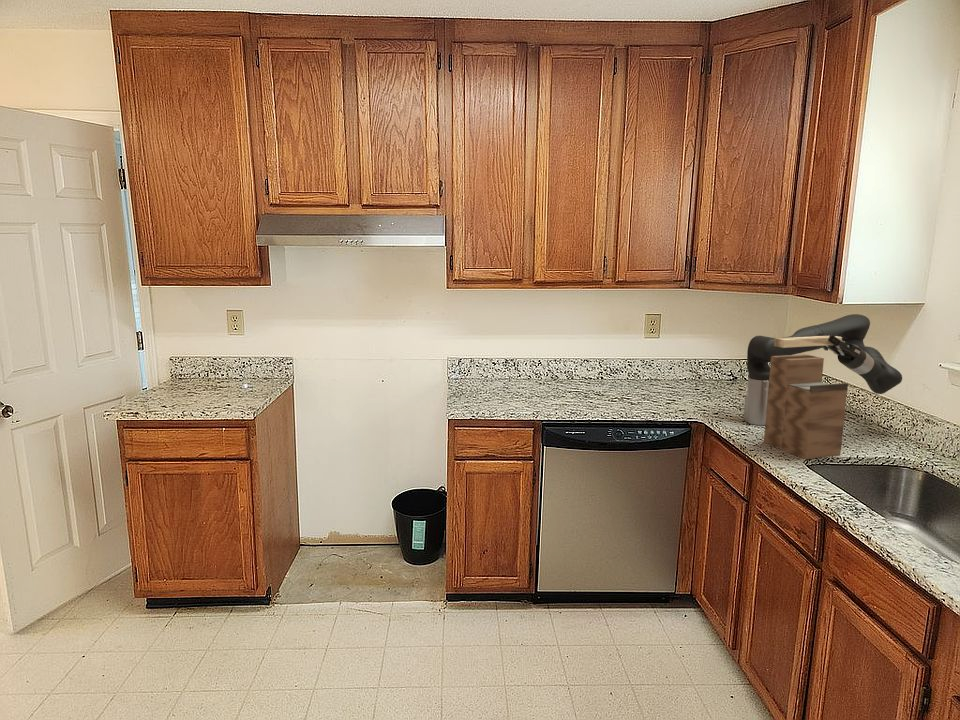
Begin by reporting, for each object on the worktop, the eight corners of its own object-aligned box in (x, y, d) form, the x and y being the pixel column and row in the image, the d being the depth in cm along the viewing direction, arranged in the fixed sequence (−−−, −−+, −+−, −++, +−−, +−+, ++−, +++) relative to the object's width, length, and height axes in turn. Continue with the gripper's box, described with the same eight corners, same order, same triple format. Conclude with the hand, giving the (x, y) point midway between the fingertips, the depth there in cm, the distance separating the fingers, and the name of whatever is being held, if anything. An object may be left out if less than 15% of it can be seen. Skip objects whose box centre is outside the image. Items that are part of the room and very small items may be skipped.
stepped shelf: (763, 442, 212) (771, 356, 206) (796, 439, 216) (804, 354, 211) (805, 459, 195) (814, 365, 190) (840, 455, 199) (850, 363, 194)
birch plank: (774, 345, 204) (774, 338, 203) (831, 342, 211) (832, 335, 210) (783, 347, 200) (784, 340, 199) (841, 344, 207) (842, 337, 207)
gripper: (843, 346, 219) (812, 324, 213) (879, 353, 206) (848, 329, 200) (833, 365, 219) (802, 343, 213) (869, 372, 206) (836, 349, 200)
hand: (824, 336), depth 207 cm, fingers closed on birch plank, 4 cm apart
